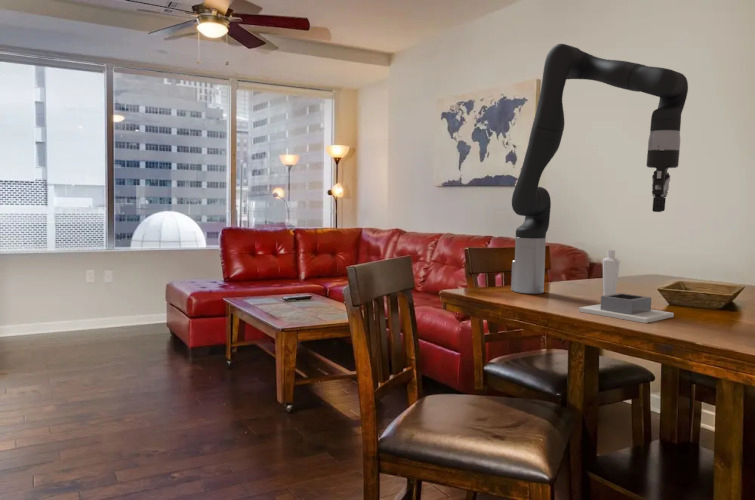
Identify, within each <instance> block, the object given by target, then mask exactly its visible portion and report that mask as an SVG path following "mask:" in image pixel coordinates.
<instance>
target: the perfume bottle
mask: <svg viewBox="0 0 755 500" xmlns="http://www.w3.org/2000/svg"><path fill="white" fill-rule="evenodd" d="M620 262H621V260H620V259H618V258H616V250H610V249H609V250H608V249H607V257H605V258H603V259H602V284H603V285H602V287H603V289H602V291H603V295H602V296H605V295H612V294H617V286H618V278H619V269H620Z"/></svg>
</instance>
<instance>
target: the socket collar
mask: <svg viewBox="0 0 755 500" xmlns="http://www.w3.org/2000/svg"><path fill="white" fill-rule="evenodd" d="M600 304H601V309H600V310H606V311H612V312H618V313H624V314H630V315H633V314H638V313H643V312H648V311H651V309H652V297H650V296H645V295H643V296H642V295H637V294H629V293H623V292H619V293H616V294H612V295H605V296H603V295H601V296H600Z"/></svg>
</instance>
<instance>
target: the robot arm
mask: <svg viewBox="0 0 755 500" xmlns="http://www.w3.org/2000/svg"><path fill="white" fill-rule="evenodd" d="M545 57H546V58H545V61H544V66H543V72H542V80H541V85H540V92H539V98H538V102H537V106H536V111H535V115H534V117H533V123H532V126H531V129H530V134H529V138H528V144H527V148H526V151H525V154H524V158H523V159H524V160H523V162H522V167H521V170H520V171H519V172H520V173H519V176H518V178H517V181H516V184H515V187H514V190H513V192H512V197H511V207H512V211H513V212H514V214H516V215H517V216H521V217H524V222H523V223H522V224H521V225H520V226H518V227H516V229H515V245H514V260H512V262H511V280H510V281H511V283H510V290H511V291H513V292H515V293H521V294H531V295H532V294H543V293H544V289H545V288H544V287H545V267H546V266H545V265H546V263H545V261H546V240H547V239H546V238H547V237H546V236H547V231H548V230H549V227H550V217H551V208H552V207H551V203H552V202H551V201H552V200H551V195H550V193H549V191H548V190H547V188H544V187H542V186H539V183H540V180H541V176H542V175H543V172H544V170H545V169H546V167H547V165H548V164H549V163H550V162H551V160H552V159H553V158H554V156H555V155H556V153H557V152H558V150H559V148H560V145H561V141H562V138H563V134H564V129H565V113H564V106H563V96H564V91H565V90H564V89H565V85H566V82H567V80H588V81H595V82H599V83H602V84H606V85H609V86H611V87H613V88H614V87H615V88H618V89H619V88H620V89H623V90H627V91H632V92H638V93H639V92H641V93H644V94H647V95H652V96H653V97H658V98H659V102H658V105H657V109H654V110H653V111H652V114H651V119H650V128H649V130H650V131H649V137H648V141H647V155H646V167H647V168H651V169H652V168H653V169H655V170H654V171H653V174H652V177H651V178H652V184H651V190H652V191H651V193H652V195H651V196H652V197H653V199H652V212H653V213H655V212H656V213H662V212H664V211H665V209H666V198H667V196H668V194H669V192H668V191H669V187H670V181H671V175H670V174H669V172H668V169H675V168H678V167H679V162H680V149H681V148H680V147H681V125H682V113H683V110H684V108H685V104H686V100H687V96H688V92H689V91H688V90H689V82H688V79H687V77H686V76H685V75H684V74H683V73H681V72H678V71H676V70H673V69H670V68H664V67H659V66H649V65H646V64H641V63H637V62H631V61H626V60H619V59H618V60H617V59H606V58H601V57H598V56H596V55H593V54H590V53H588V52H585V51H583V50H581V49H579V48H578V47H575V46H573V45H569V44H565V43H558V44H555V45H554V46H552V48H550V50H549V51H548V52H547V54H546V56H545Z"/></svg>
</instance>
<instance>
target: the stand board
mask: <svg viewBox="0 0 755 500" xmlns="http://www.w3.org/2000/svg"><path fill="white" fill-rule="evenodd" d="M600 309H601V303H598V304H593V305H587V306H579V307H578V312H581V313H585V314H591V315H595V316H603V317H609V318H613V319H621V320H626V321H631V322H636V323H643V324H648V322H649V323H652V322H656V321H661V320H665V319H666V320H667V319H671V318H675V317H674V315H675V313H674V312H670V311H663V310H657V309H652V308H651V311H648V312H643V313H638V314H633V315H630V314H624V313H618V312H612V311H606V310H600Z"/></svg>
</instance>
